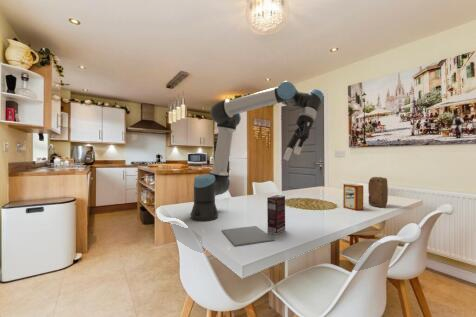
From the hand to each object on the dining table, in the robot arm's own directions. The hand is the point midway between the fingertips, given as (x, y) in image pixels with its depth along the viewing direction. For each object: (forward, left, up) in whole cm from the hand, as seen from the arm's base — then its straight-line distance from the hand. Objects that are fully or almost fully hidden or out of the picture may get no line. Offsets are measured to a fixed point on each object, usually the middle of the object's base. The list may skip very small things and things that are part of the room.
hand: (290, 156), depth 101 cm
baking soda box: (-21, +62, -34) cm, 74 cm away
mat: (+1, -22, -34) cm, 40 cm away
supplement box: (+1, -8, -34) cm, 35 cm away
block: (-21, +84, -34) cm, 93 cm away
